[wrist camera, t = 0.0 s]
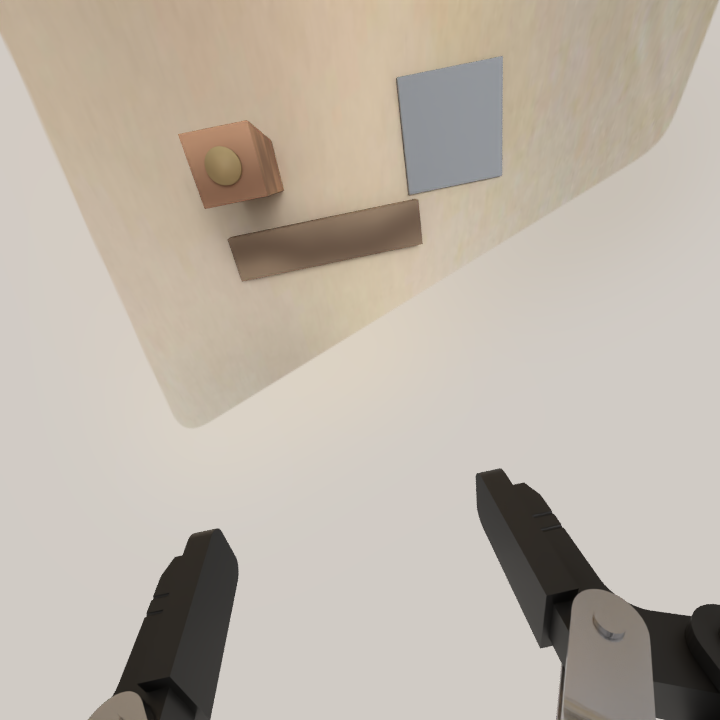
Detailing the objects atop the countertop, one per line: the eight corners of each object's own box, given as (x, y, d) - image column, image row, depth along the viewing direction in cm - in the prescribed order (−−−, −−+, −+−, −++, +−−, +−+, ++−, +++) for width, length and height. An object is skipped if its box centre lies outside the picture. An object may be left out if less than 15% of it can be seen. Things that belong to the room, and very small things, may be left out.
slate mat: (396, 78, 30) (397, 77, 30) (500, 57, 30) (502, 56, 30) (408, 194, 34) (409, 194, 34) (500, 175, 34) (501, 175, 34)
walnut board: (231, 237, 34) (227, 239, 33) (414, 199, 34) (418, 199, 33) (244, 277, 36) (242, 281, 35) (418, 241, 36) (422, 243, 35)
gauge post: (226, 149, 31) (174, 133, 20) (271, 140, 31) (244, 118, 20) (241, 199, 33) (202, 209, 22) (283, 190, 33) (266, 196, 22)
